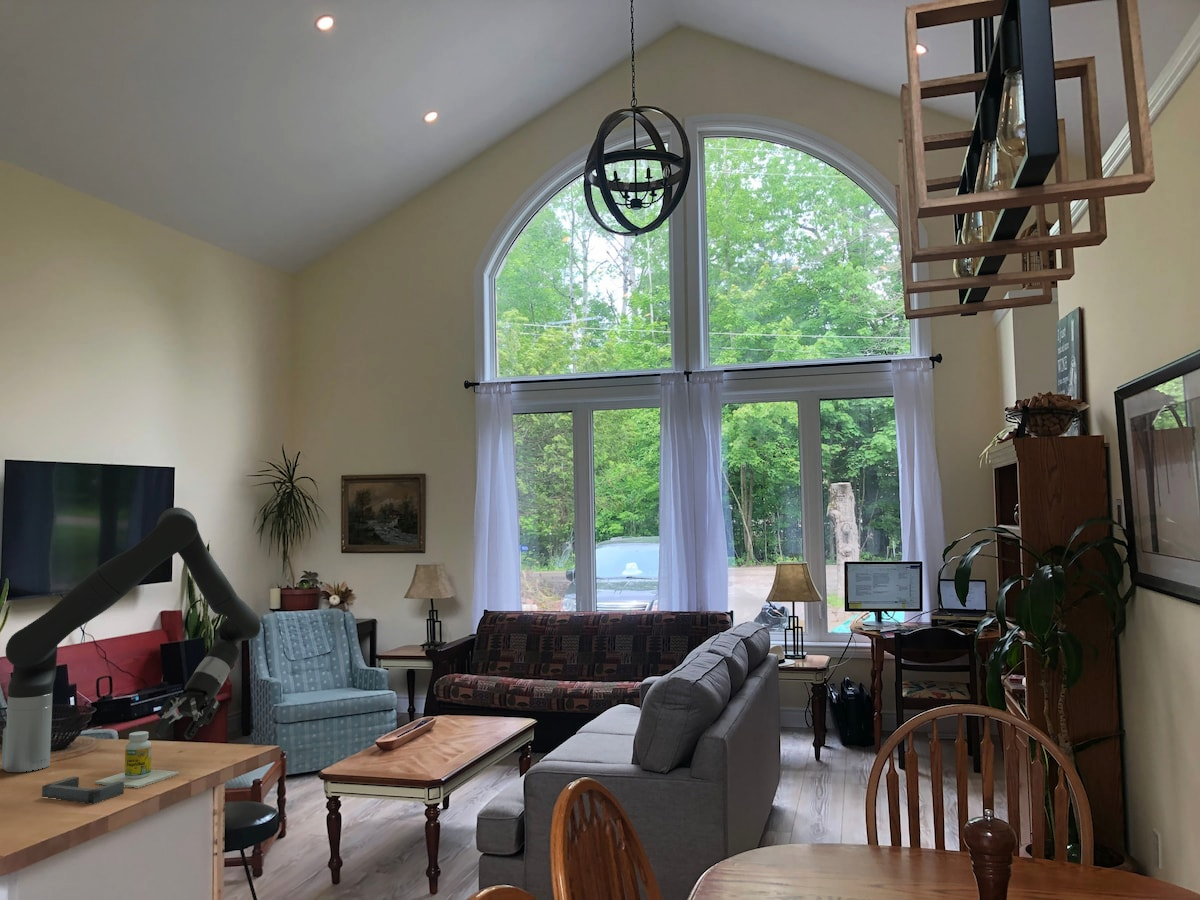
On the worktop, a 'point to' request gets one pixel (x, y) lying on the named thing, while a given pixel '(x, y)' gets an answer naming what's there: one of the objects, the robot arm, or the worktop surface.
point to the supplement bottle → (138, 756)
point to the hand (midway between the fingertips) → (172, 736)
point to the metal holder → (81, 791)
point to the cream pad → (136, 783)
